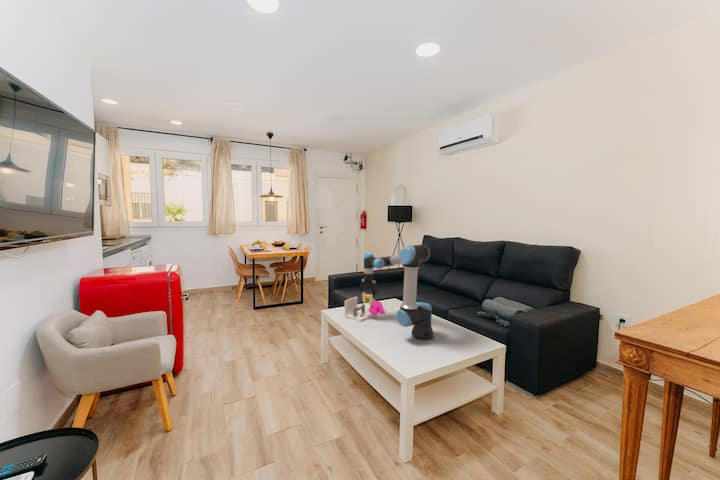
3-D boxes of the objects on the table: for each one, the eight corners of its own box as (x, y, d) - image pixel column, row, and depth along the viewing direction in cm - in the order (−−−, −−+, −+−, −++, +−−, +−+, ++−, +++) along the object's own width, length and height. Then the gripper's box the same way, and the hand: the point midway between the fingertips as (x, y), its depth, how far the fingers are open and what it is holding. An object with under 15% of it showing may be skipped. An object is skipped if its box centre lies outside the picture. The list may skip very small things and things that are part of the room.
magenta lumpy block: (368, 310, 256) (368, 299, 255) (379, 309, 259) (379, 298, 258) (373, 315, 245) (373, 303, 244) (384, 314, 248) (384, 302, 247)
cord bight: (373, 303, 231) (373, 295, 231) (371, 304, 228) (371, 296, 228) (365, 302, 236) (365, 293, 236) (363, 303, 233) (362, 294, 233)
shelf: (372, 316, 243) (372, 299, 241) (361, 321, 230) (361, 304, 229) (356, 312, 253) (356, 296, 252) (344, 317, 240) (344, 300, 239)
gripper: (382, 274, 227) (381, 302, 229) (360, 270, 239) (360, 297, 242) (376, 275, 221) (376, 304, 223) (355, 272, 233) (355, 299, 236)
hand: (368, 300), depth 232 cm, fingers closed on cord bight, 8 cm apart
